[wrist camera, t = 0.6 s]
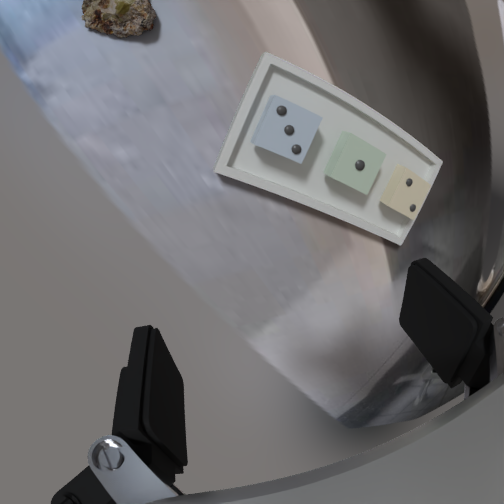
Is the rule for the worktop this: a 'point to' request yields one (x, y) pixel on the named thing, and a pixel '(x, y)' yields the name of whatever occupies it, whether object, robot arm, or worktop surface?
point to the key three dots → (286, 129)
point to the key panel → (322, 149)
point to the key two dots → (405, 192)
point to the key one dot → (354, 162)
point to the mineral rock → (118, 16)
